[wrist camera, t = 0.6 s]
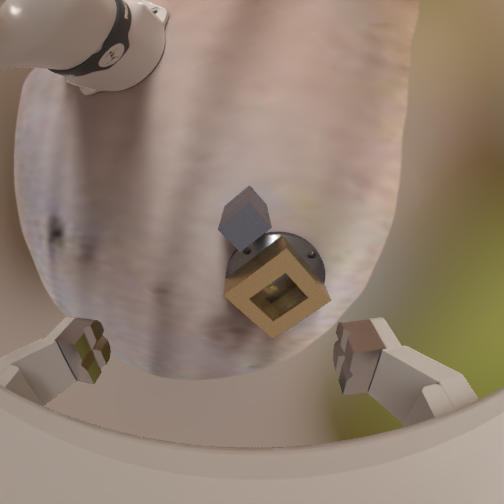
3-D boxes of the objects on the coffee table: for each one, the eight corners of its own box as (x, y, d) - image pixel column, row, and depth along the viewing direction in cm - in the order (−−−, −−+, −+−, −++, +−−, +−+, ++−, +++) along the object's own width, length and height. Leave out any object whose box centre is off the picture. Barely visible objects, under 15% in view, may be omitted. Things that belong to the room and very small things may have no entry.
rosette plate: (205, 273, 47) (200, 293, 41) (284, 210, 42) (289, 224, 37) (267, 330, 53) (269, 352, 47) (340, 281, 48) (351, 300, 42)
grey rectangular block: (224, 206, 42) (218, 229, 33) (249, 185, 41) (249, 202, 32) (241, 224, 43) (240, 252, 34) (266, 204, 42) (271, 227, 33)
